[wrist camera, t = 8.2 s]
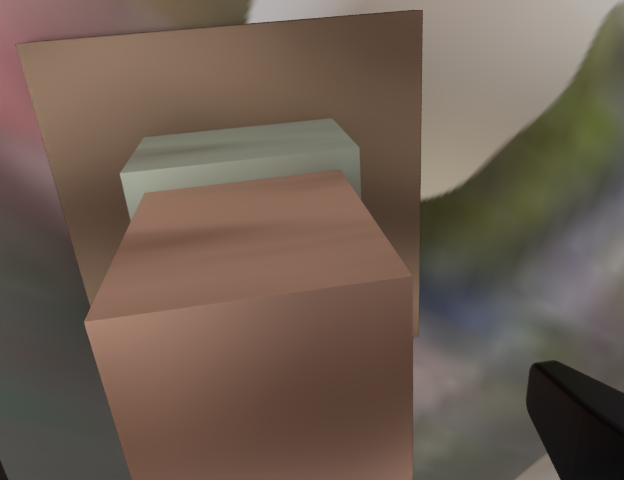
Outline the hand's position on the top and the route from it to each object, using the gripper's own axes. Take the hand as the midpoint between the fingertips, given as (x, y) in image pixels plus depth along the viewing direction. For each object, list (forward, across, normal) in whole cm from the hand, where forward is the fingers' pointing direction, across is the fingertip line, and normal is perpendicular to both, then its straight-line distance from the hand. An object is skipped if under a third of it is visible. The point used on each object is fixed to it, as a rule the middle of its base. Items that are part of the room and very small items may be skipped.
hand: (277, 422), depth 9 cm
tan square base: (+11, 0, 0) cm, 11 cm away
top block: (+6, 0, 0) cm, 6 cm away
